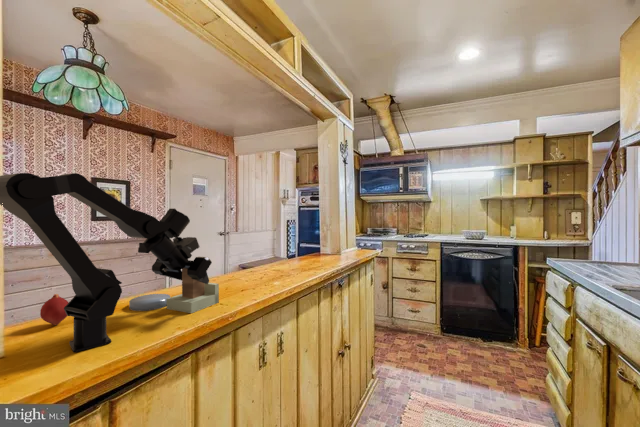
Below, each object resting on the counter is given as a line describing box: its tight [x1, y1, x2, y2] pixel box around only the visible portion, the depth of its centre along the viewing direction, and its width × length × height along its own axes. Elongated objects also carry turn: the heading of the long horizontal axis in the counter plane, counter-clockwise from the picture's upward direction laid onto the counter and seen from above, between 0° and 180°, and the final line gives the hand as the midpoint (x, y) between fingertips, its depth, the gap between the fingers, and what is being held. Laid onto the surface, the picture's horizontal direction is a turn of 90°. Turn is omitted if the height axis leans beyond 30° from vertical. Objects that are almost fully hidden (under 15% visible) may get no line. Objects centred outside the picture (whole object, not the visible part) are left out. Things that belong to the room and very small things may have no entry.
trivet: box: [128, 293, 171, 312], centre depth 92 cm, size 11×11×2 cm
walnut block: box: [181, 268, 205, 299], centre depth 92 cm, size 4×4×9 cm
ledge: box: [165, 282, 220, 314], centre depth 92 cm, size 11×10×6 cm
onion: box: [39, 293, 70, 326], centre depth 76 cm, size 6×6×8 cm
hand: (196, 281), depth 93 cm, fingers open, 9 cm apart
